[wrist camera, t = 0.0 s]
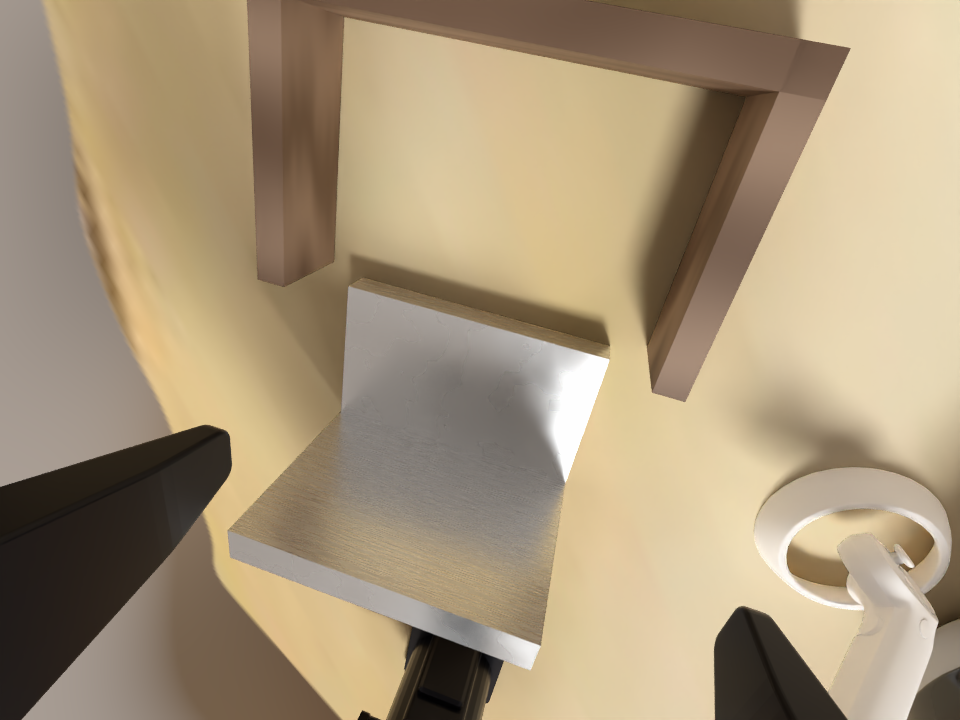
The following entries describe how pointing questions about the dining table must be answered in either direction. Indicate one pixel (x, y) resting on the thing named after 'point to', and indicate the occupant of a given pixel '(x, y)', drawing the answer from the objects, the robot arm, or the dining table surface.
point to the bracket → (435, 471)
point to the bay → (564, 36)
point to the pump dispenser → (940, 678)
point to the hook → (867, 582)
